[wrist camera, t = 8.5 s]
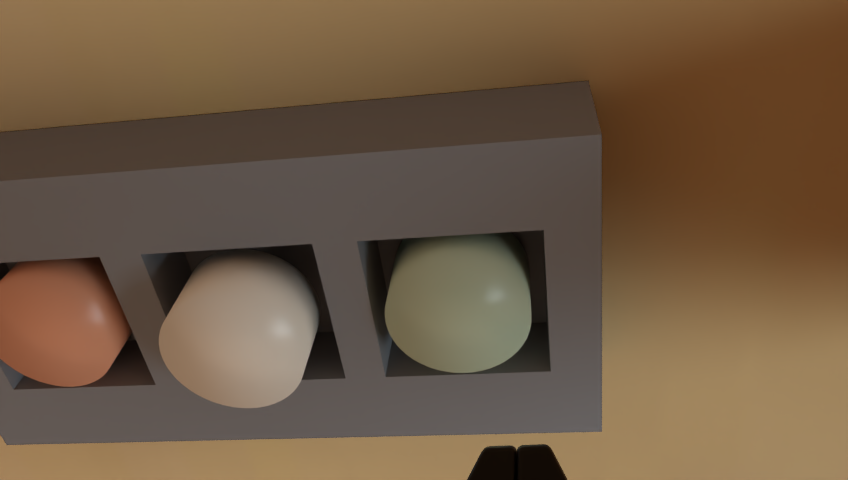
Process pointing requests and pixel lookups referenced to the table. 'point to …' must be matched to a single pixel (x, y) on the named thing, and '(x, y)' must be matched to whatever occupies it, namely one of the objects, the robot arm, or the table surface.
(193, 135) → the button panel
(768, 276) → the table surface
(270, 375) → the cream button
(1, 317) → the terracotta button
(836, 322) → the table surface
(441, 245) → the sage button
